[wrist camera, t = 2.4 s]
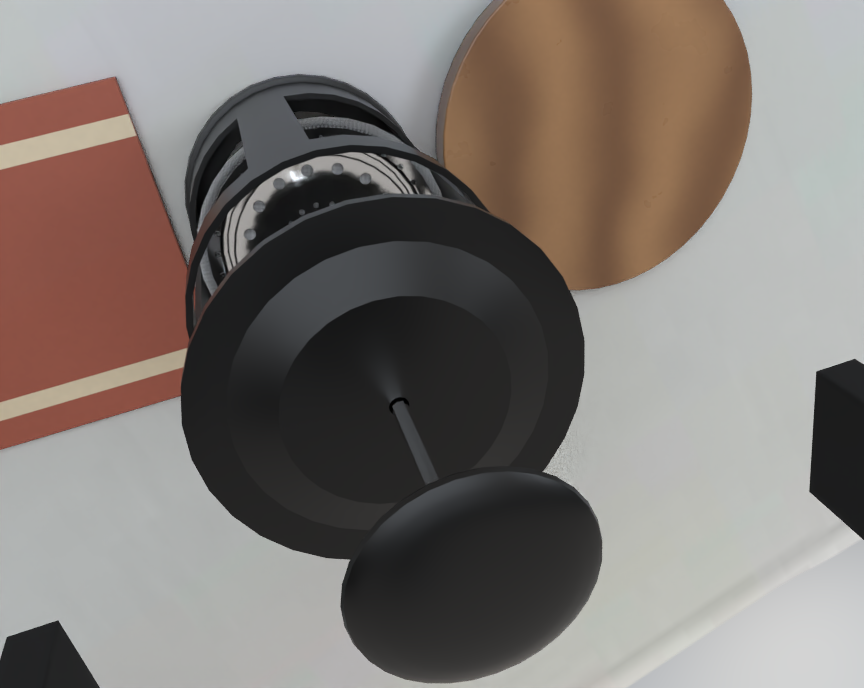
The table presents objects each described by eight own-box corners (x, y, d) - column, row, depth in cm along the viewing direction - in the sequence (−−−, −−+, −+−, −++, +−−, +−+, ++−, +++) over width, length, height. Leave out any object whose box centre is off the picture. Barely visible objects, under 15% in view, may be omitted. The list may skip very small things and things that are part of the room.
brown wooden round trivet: (466, 317, 36) (474, 327, 35) (403, -8, 29) (411, -7, 28) (736, 235, 38) (751, 243, 37) (735, -87, 31) (754, -88, 30)
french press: (126, 121, 29) (-48, 494, 9) (355, 14, 29) (691, 132, 9) (274, 367, 34) (373, 927, 15) (463, 275, 35) (810, 694, 15)
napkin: (-77, 469, 32) (-80, 474, 32) (-273, 169, 26) (-278, 171, 26) (229, 378, 34) (230, 381, 34) (115, 76, 28) (114, 77, 28)
